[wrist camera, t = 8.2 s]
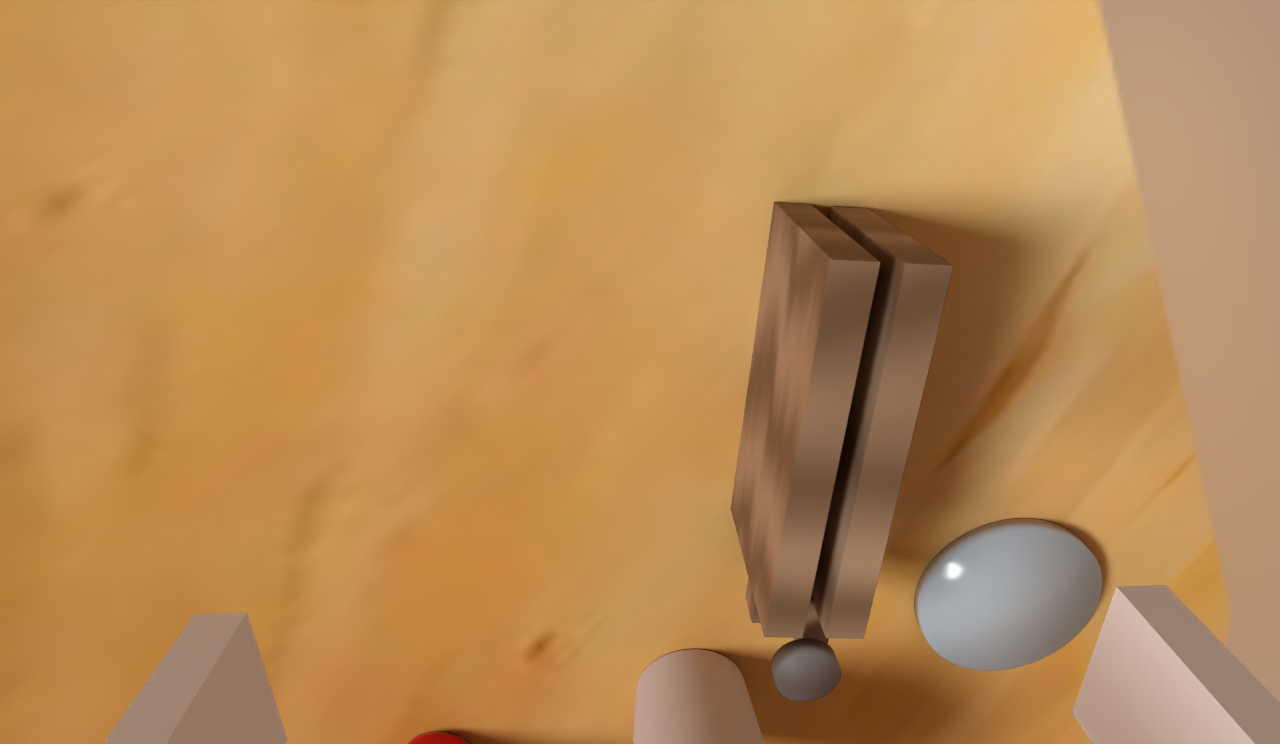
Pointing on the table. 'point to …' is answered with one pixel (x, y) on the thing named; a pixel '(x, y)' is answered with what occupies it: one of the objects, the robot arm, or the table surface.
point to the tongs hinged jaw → (876, 421)
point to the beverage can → (438, 738)
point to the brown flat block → (798, 428)
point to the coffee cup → (694, 702)
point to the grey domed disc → (1007, 594)
